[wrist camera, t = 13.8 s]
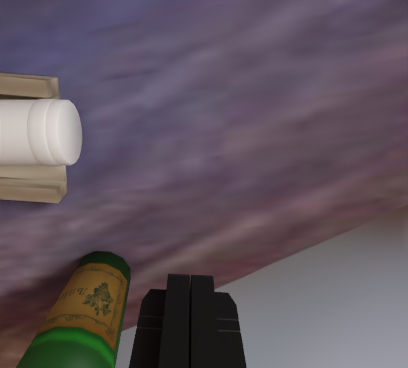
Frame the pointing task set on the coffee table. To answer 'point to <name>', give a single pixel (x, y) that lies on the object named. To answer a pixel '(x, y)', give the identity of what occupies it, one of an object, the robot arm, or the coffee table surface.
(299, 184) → the coffee table surface
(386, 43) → the coffee table surface
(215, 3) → the coffee table surface
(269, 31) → the coffee table surface
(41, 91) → the cradle
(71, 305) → the bottle
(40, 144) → the bottle
